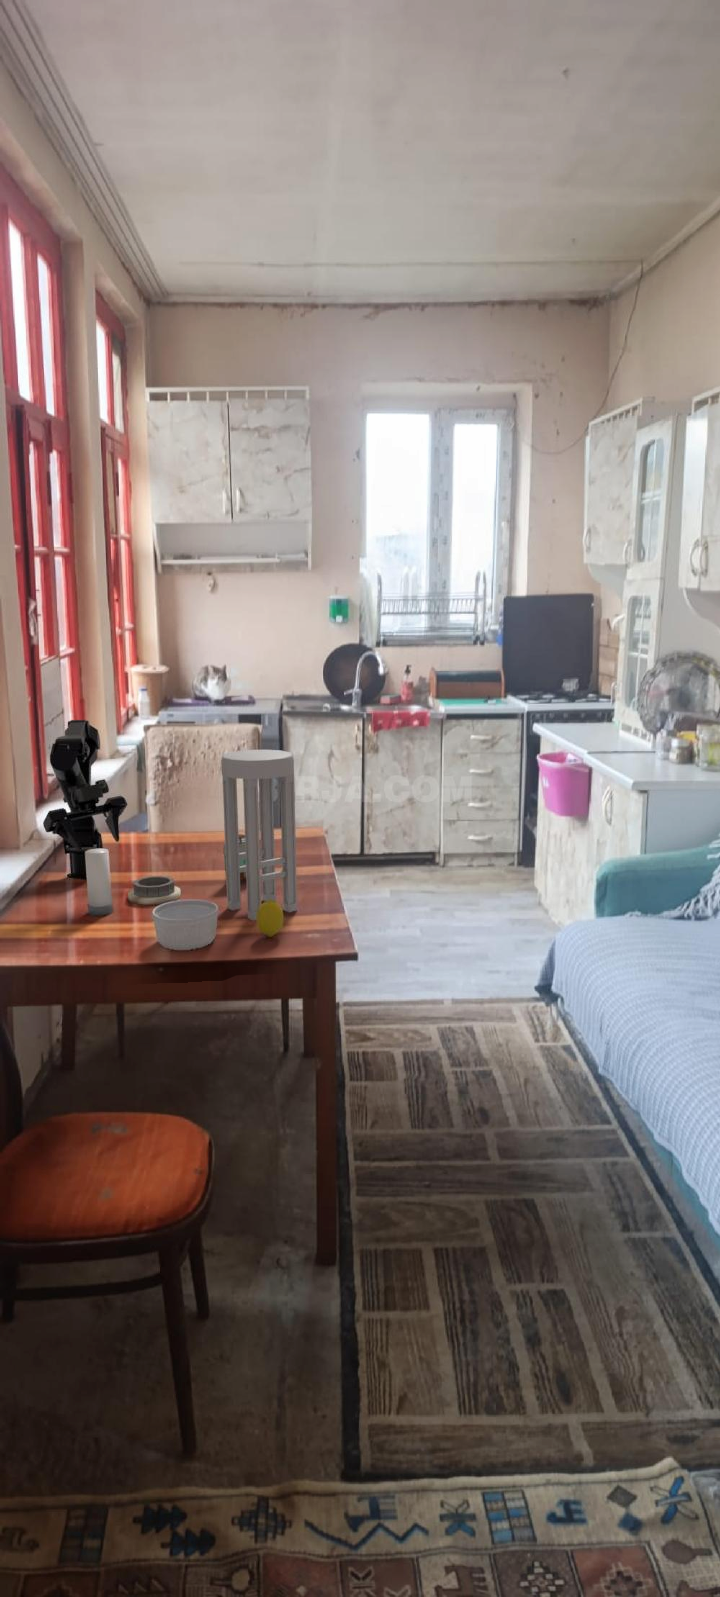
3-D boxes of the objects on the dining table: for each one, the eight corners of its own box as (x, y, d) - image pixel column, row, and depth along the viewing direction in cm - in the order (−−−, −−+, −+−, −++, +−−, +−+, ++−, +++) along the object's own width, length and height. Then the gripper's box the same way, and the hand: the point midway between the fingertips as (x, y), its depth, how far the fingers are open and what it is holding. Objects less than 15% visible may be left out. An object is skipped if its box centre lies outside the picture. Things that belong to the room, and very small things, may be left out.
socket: (117, 901, 228) (117, 885, 227) (147, 887, 239) (146, 872, 238) (162, 906, 224) (162, 891, 223) (190, 892, 235) (189, 877, 234)
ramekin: (182, 958, 192) (180, 923, 191) (140, 943, 201) (138, 910, 199) (232, 940, 202) (231, 907, 201) (190, 926, 210) (189, 895, 209)
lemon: (257, 933, 206) (256, 896, 204) (284, 932, 206) (283, 895, 205) (256, 942, 200) (255, 904, 199) (284, 941, 201) (283, 903, 199)
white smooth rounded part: (83, 914, 219) (78, 853, 216) (97, 907, 224) (93, 847, 221) (103, 917, 217) (99, 855, 214) (118, 909, 222) (114, 849, 219)
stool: (214, 907, 223) (208, 753, 216) (273, 894, 232) (269, 746, 225) (249, 925, 211) (244, 762, 204) (310, 911, 220) (307, 755, 213)
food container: (248, 887, 239) (247, 846, 237) (224, 885, 240) (222, 845, 238) (263, 873, 250) (262, 834, 248) (240, 872, 252) (239, 833, 250)
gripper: (44, 777, 218) (70, 838, 213) (121, 762, 229) (147, 820, 225) (32, 801, 226) (57, 861, 222) (107, 786, 238) (132, 842, 233)
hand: (99, 845), depth 225 cm, fingers open, 9 cm apart
